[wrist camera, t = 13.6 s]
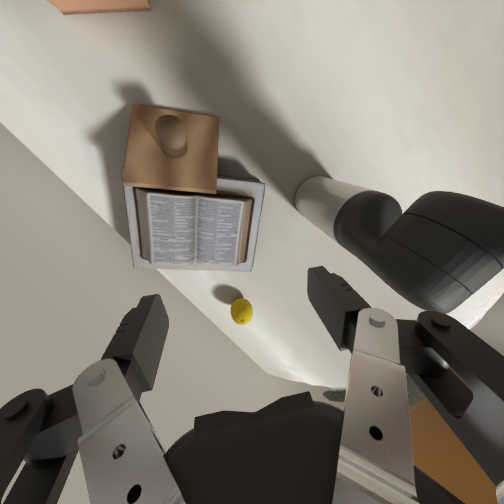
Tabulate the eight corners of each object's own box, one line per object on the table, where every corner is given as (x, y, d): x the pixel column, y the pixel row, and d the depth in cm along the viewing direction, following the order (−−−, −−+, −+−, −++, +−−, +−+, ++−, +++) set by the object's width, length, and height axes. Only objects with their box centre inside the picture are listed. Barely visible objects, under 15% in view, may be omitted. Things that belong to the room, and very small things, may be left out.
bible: (137, 136, 38) (114, 133, 29) (274, 183, 45) (288, 191, 37) (125, 250, 47) (105, 274, 38) (242, 274, 54) (247, 298, 45)
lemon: (225, 302, 57) (226, 324, 50) (239, 288, 55) (243, 309, 48) (240, 311, 59) (244, 334, 52) (254, 299, 58) (259, 320, 51)
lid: (218, 122, 39) (220, 95, 33) (216, 193, 36) (217, 175, 30) (135, 110, 36) (122, 77, 31) (125, 185, 33) (109, 164, 28)
